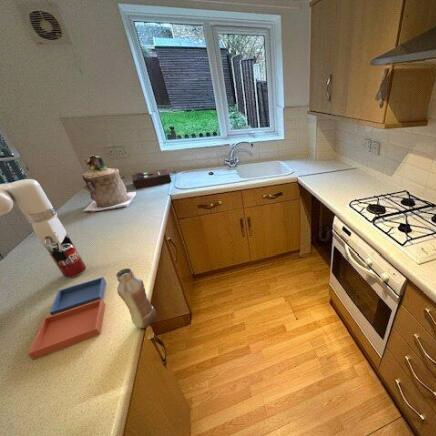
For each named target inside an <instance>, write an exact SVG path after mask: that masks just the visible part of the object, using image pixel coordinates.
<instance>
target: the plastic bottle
mask: <svg viewBox="0 0 436 436" xmlns="http://www.w3.org/2000/svg"><path fill="white" fill-rule="evenodd" d="M115 276H116V280H117V282H118V284H117V288H116V290H117V291H116V292H117V294H118V296H119V297H120V298H121V300H122V301H123V302H124V304H125V305H126V307H127V309H128V311H129V314H130V318H131V319H130V320H131V322H132V324H133V326H135V327H136V328H137V329H146V328H148V327H151V325H153V324H154V323H155V322H156V319H157V310H156V308H155V307H154V306H153V305H152V303H151V302H150V300H149V298H148V295H147V292H146V288H145V284H144V281H143V279H141V278H140V277H138V276H136V275H135V274H134V272H133V271H132V269H131V268H123V269H121V270H119V271H118V272H117V273H116V274H115Z"/></svg>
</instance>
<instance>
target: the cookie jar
mask: <svg viewBox="0 0 436 436" xmlns="http://www.w3.org/2000/svg"><path fill="white" fill-rule="evenodd" d="M88 157H89V158H86V159H85V160H84V161H85V164H86V165H87V166H89V167H88V168H89V169H88V170H87V171H86V172H85V173H83V174H82V179H83V181H84V182H85V184H84V185H83V186H82V188H83V189H84V190H86V191H87V192H89V193H90V199H91V200H92V201H91V203H89V205H88V206H87V207H86V208H84V209H83V212H91V213H92V212H95V213H96V212H99V211H105V210H112V209H119V208H126V207H128V208H129V205H131V203H132V201H133V199H134V198H135V196H136V195H137V191H131V192H127V187H126V185H125V183H124V181H123V179H122V177H121V175H120V174H119V173H120V169H118V168H111V167H107V166H105V163H104V161H103V157H102V156H101V155H94V154H92V155H89V156H88Z"/></svg>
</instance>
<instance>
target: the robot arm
mask: <svg viewBox="0 0 436 436" xmlns="http://www.w3.org/2000/svg"><path fill="white" fill-rule="evenodd" d="M14 204H16V206H18V208H19V210H20V211H21V213H22V214H23V216H24V217H25V218H26V220H27V221H28V223H29V224H31V227H32V229H33V231H34V233H35V235H36V237H37V239H38V240H39V242H40V244H41V246H42V247H43V248H44V249H46V250H47V251H48V252H49V253H51V254H52V255H53V257H54V258H55V260H56V261H57V262H59V261H63V260H66V259H68V257H67V256H66V254H65V252H64V251H63V250H61V247H60V245H62V244H66V243H70V244H73V245H74V243H73V242H72V240H71V238H70V237H69V234H68V233H67V231H66V229H65V227H64V225H63V223H62V222H61V220H60V219H59V217H58V213H57V211H56V209H55V208H54V206H53V205H52V203H51V201H50V200H49V198H48V196H47V194H46V192H45V191H44V189H43V188H42V186H41V185H40V183H39V181H37V180H36V179H33V178H25V179H20V180H15V181H13V182H9V183H0V216H3V215H6V214H9V212H11V211H12V210H13V207H14ZM56 246H57V248H54V247H56Z"/></svg>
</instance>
